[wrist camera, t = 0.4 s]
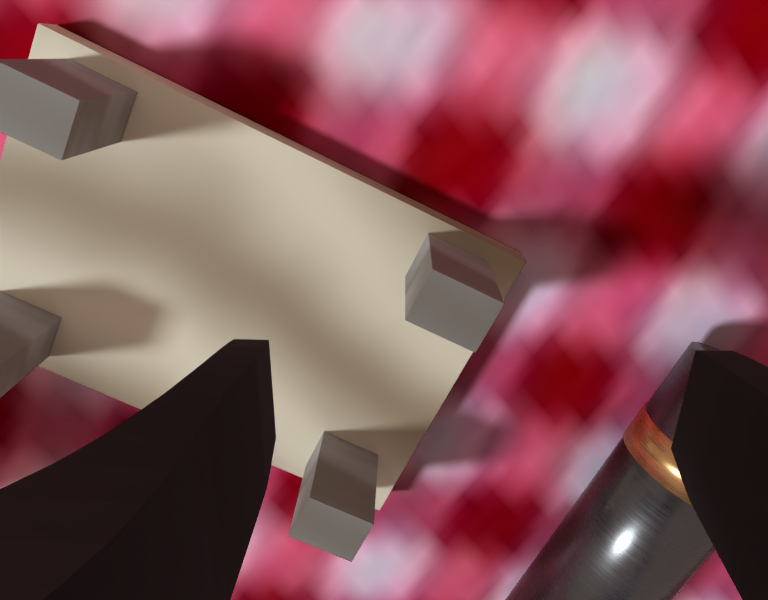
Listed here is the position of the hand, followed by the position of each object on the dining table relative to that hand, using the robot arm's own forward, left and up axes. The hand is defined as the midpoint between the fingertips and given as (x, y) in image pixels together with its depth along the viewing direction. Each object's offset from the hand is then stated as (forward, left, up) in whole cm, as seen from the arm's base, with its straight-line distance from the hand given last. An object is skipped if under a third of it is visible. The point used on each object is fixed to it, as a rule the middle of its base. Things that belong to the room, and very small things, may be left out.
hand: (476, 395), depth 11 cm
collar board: (-4, +5, -10) cm, 12 cm away
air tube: (-5, -10, -10) cm, 15 cm away
